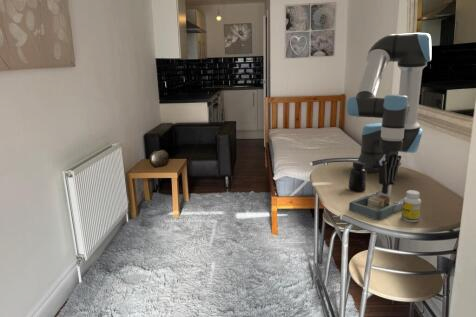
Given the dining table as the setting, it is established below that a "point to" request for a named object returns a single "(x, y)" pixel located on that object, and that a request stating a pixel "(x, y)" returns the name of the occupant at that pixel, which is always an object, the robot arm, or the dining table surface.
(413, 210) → the supplement bottle
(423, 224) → the dining table surface
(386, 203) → the brown cube
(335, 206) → the dining table surface
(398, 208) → the slot rails
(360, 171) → the supplement bottle
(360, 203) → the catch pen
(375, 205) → the beige cube
